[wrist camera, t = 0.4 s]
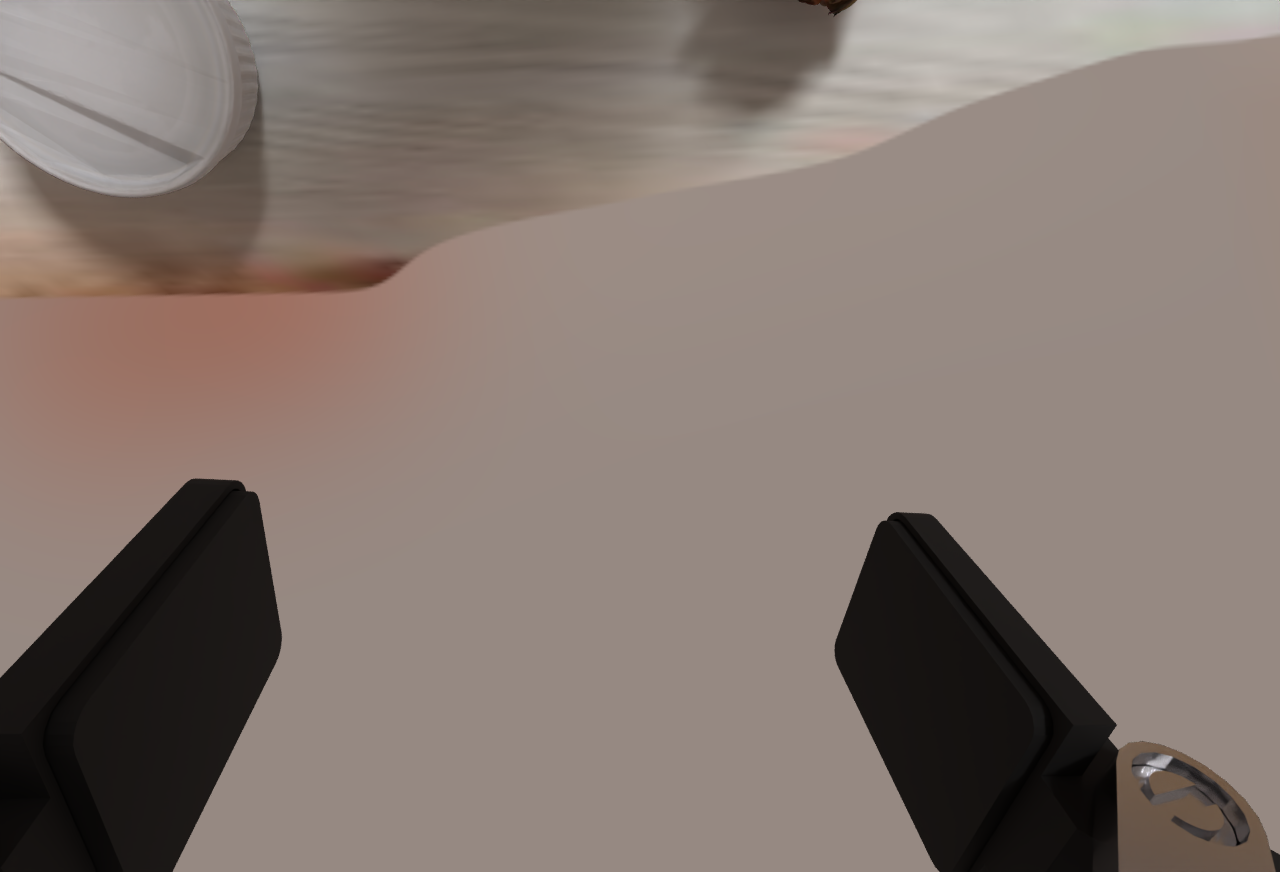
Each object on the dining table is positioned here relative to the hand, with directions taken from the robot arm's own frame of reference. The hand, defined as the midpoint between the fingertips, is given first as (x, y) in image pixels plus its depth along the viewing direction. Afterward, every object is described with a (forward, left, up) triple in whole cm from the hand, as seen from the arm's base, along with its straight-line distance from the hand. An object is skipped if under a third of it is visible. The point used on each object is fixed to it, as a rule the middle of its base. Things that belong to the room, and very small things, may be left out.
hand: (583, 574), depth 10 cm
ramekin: (-5, -20, -30) cm, 37 cm away
